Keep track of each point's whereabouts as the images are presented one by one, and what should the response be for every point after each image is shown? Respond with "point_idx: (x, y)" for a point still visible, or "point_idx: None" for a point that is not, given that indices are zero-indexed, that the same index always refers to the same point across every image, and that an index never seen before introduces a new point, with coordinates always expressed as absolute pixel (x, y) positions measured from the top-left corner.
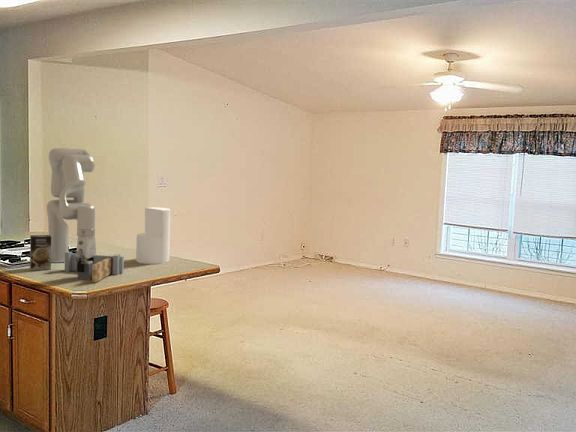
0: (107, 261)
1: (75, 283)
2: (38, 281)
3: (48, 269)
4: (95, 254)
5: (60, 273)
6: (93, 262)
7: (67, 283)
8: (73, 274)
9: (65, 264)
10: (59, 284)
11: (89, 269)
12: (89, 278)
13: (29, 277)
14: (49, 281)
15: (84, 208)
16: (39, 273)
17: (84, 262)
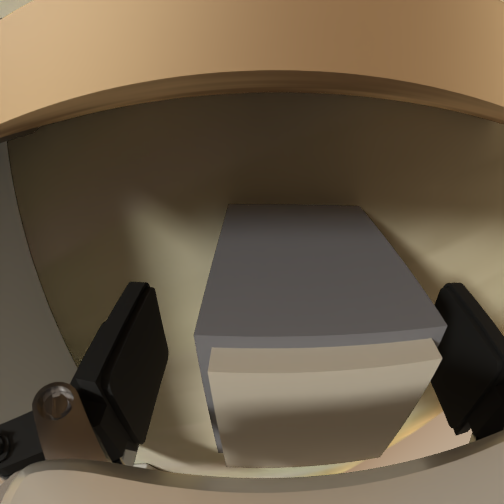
0: (21, 31)
1: (496, 255)
2: (414, 428)
3: (155, 468)
4: (50, 481)
5: (199, 435)
6: (203, 331)
7: (487, 304)
8: (190, 385)
9: (132, 463)
10: (499, 329)
11: (380, 265)
12: (342, 208)
13: (330, 472)
14: (421, 402)
15: None
16: (240, 475)
17: (406, 414)
